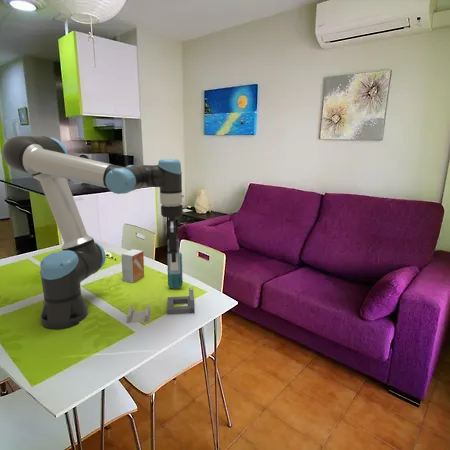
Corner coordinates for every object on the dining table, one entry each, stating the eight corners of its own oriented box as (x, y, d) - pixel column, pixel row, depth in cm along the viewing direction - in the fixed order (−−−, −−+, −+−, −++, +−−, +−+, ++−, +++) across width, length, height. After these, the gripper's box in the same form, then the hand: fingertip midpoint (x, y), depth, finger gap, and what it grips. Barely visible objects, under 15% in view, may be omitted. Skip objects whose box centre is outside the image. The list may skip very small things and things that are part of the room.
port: (167, 316, 118) (166, 299, 116) (167, 302, 127) (167, 287, 126) (194, 314, 119) (194, 298, 118) (192, 301, 129) (192, 286, 127)
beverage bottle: (180, 292, 136) (179, 247, 131) (165, 290, 138) (164, 246, 133) (184, 286, 143) (184, 243, 138) (170, 284, 144) (169, 241, 139)
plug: (168, 274, 115) (167, 242, 112) (169, 270, 119) (167, 239, 116) (180, 273, 116) (178, 242, 113) (180, 269, 120) (179, 238, 117)
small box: (133, 283, 144) (132, 256, 141) (122, 280, 146) (120, 253, 143) (144, 276, 151) (143, 250, 148) (133, 274, 154) (132, 248, 150)
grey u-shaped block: (126, 324, 112) (125, 316, 111) (129, 312, 119) (128, 305, 119) (149, 322, 113) (149, 315, 112) (151, 311, 121) (150, 304, 120)
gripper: (182, 208, 104) (184, 276, 109) (182, 200, 120) (184, 259, 126) (158, 209, 103) (162, 277, 108) (162, 200, 119) (165, 259, 125)
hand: (174, 267), depth 117 cm, fingers closed on plug, 4 cm apart
